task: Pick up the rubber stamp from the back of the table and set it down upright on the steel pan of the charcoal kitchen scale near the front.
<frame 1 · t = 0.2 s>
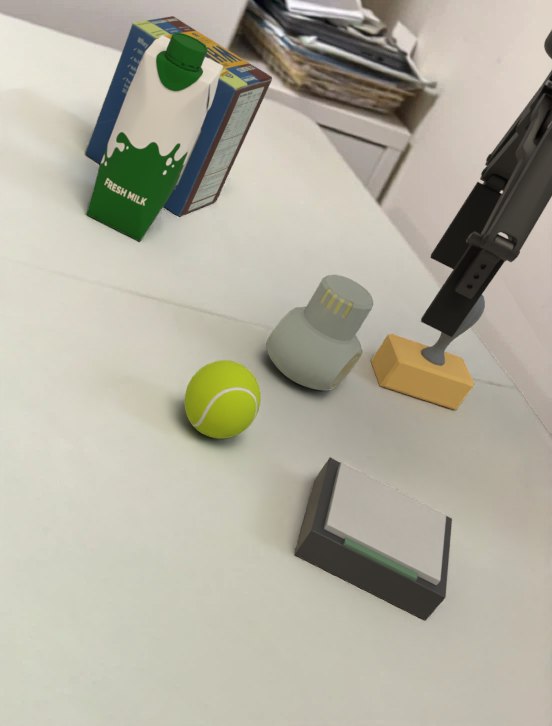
hand: (440, 294, 89), 21 cm above the table, tool pointing down, fingers open, 13 cm apart
rubber stamp: (412, 387, 126), on the table
protein box: (149, 180, 139), on the table
milk carton: (120, 219, 129), on the table
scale: (367, 548, 101), on the table
air freshener: (299, 373, 119), on the table
tennis ball: (204, 431, 105), on the table
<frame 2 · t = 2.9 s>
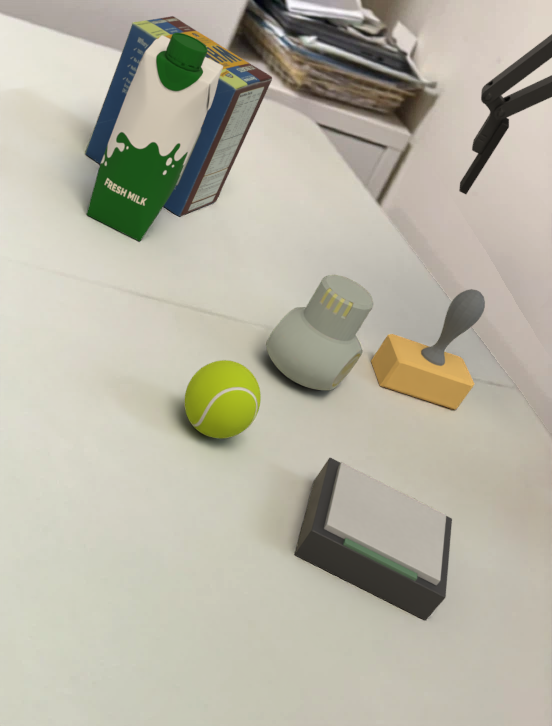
hand: (524, 219, 107), 21 cm above the table, tool pointing down, fingers open, 13 cm apart
nothing on the table moved.
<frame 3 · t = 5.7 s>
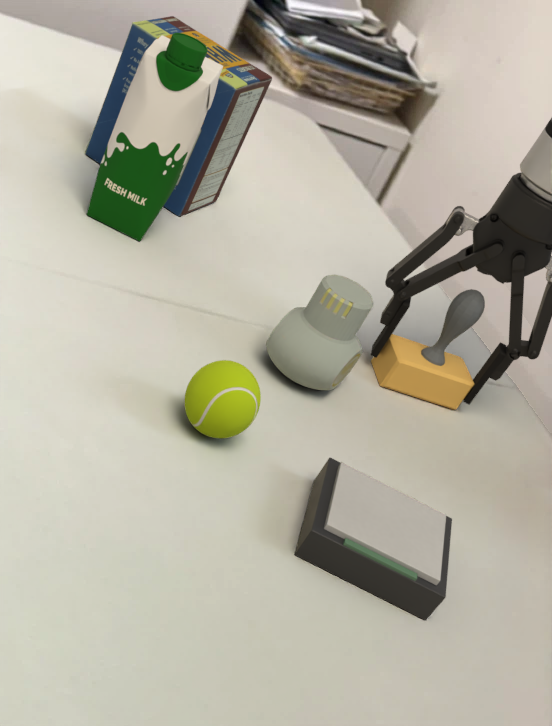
hand: (420, 374, 124), 1 cm above the table, tool pointing down, fingers closed on rubber stamp, 11 cm apart
rubber stamp: (412, 387, 126), on the table, touching gripper
everything else where it was.
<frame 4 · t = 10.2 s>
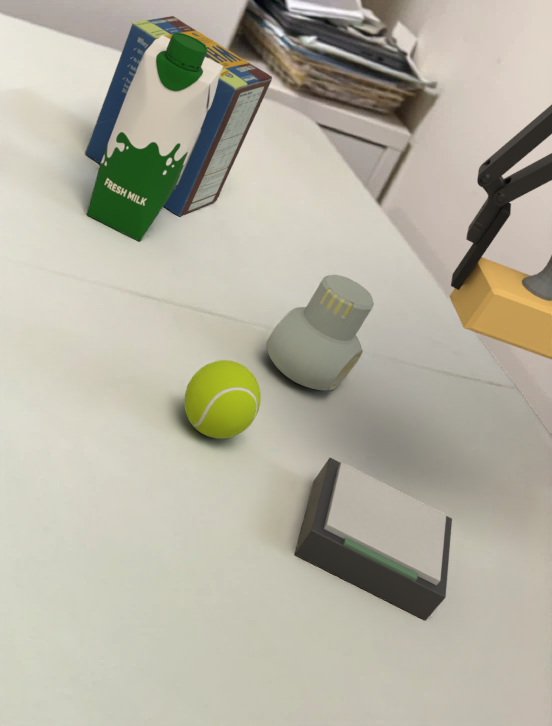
hand: (518, 315, 90), 21 cm above the table, tool pointing down, fingers closed on rubber stamp, 11 cm apart
rubber stamp: (506, 332, 91), point 20 cm above the table, touching gripper
everything else where it was.
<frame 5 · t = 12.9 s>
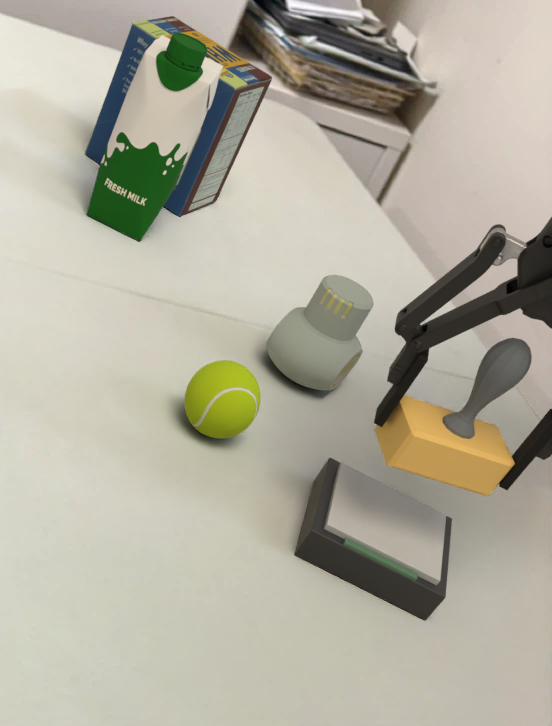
hand: (441, 449, 92), 11 cm above the table, tool pointing down, fingers closed on rubber stamp, 11 cm apart
rubber stamp: (429, 464, 94), point 10 cm above the table, touching gripper
everything else where it was.
when the fingers open (5 cm above the table, at t = 15.0 s): rubber stamp stays where it is, resting on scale.
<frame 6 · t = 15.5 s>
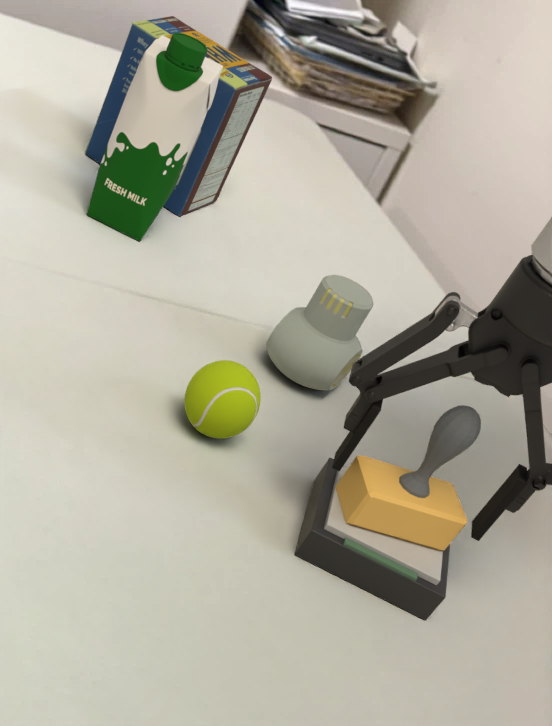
hand: (406, 497, 96), 6 cm above the table, tool pointing down, fingers open, 13 cm apart
rubber stamp: (388, 520, 98), point 3 cm above the table, touching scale
everything else where it was.
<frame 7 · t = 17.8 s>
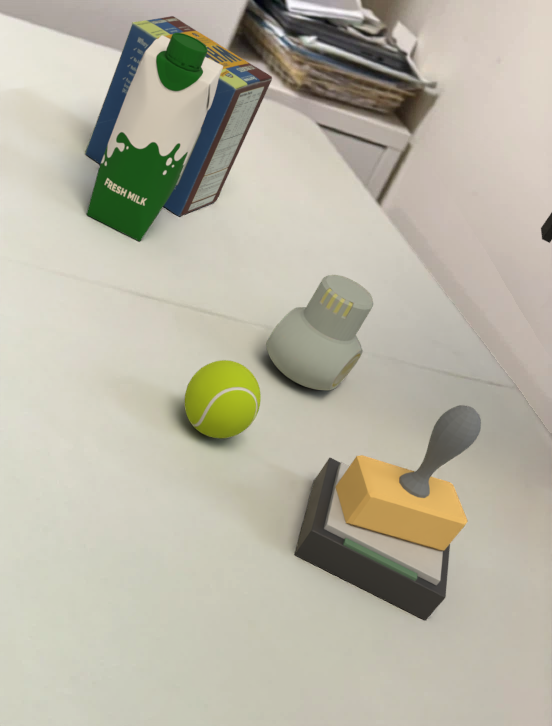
nothing on the table moved.
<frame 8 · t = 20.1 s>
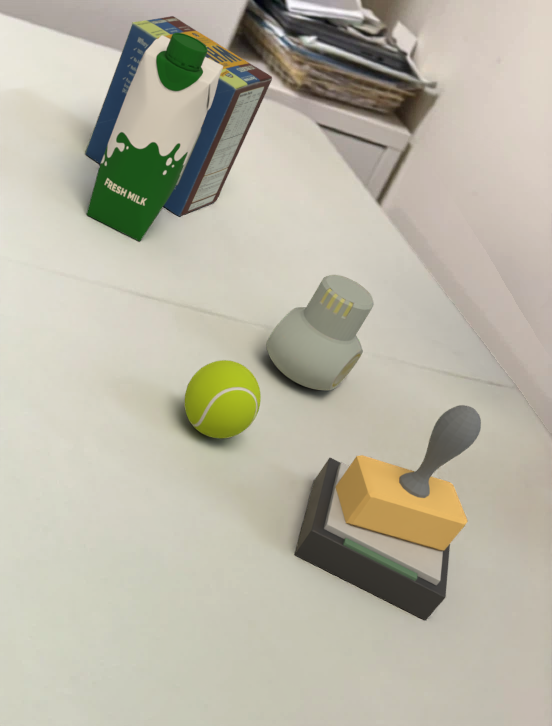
nothing on the table moved.
at the end: rubber stamp inside the target area on the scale (0.0 cm from its centre), point 3.4 cm above the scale's base; rubber stamp tilted 0°; the gripper is holding nothing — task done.
